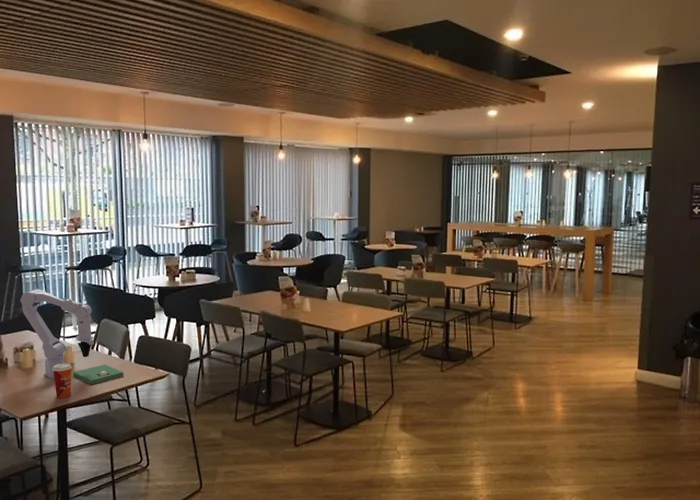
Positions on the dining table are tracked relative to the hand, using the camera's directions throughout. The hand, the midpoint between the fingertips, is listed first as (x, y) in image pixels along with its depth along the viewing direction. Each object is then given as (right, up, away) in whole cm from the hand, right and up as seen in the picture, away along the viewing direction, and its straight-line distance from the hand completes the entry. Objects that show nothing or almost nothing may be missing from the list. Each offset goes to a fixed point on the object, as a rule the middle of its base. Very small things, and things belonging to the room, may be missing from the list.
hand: (85, 356), depth 286 cm
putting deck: (+6, -10, -1) cm, 12 cm away
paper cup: (+3, -13, -28) cm, 31 cm away
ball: (+10, -8, -4) cm, 14 cm away
